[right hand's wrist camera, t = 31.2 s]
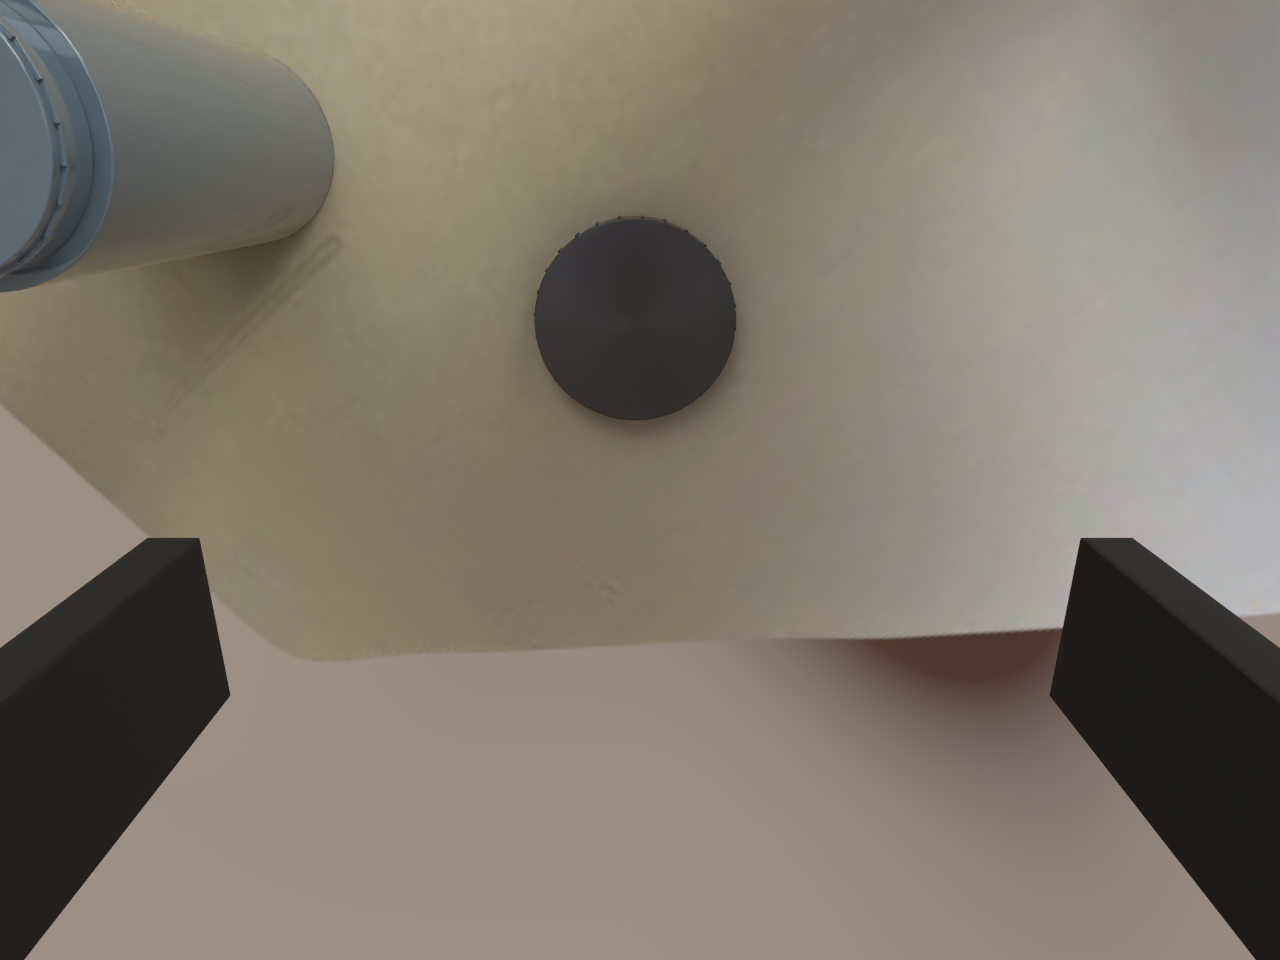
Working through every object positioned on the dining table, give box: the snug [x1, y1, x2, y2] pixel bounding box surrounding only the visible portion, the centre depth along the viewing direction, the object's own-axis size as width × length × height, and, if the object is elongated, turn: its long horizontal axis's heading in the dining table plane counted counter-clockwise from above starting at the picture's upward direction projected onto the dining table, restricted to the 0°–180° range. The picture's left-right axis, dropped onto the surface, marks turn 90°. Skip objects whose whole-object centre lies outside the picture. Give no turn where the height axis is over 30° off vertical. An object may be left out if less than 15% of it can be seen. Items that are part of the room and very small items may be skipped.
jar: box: [0, 0, 333, 293], centre depth 29 cm, size 8×8×19 cm
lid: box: [534, 215, 736, 420], centre depth 39 cm, size 9×9×2 cm
